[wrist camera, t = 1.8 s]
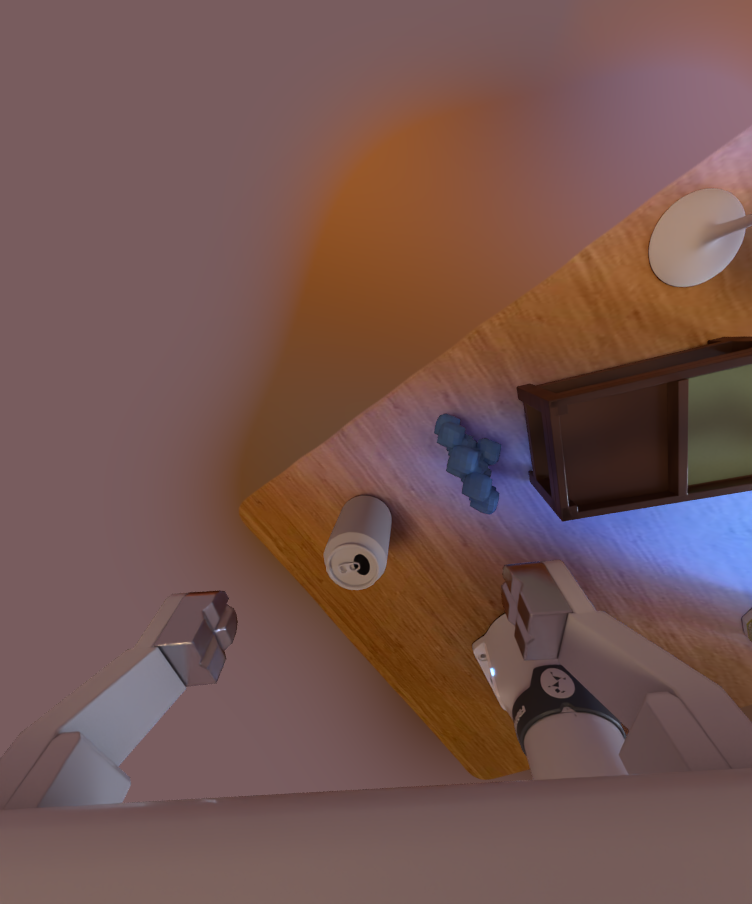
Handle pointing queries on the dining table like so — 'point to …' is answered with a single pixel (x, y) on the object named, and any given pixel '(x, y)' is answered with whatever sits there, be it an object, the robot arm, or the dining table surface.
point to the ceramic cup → (747, 624)
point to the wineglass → (697, 237)
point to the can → (359, 543)
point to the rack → (644, 431)
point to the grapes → (470, 462)
